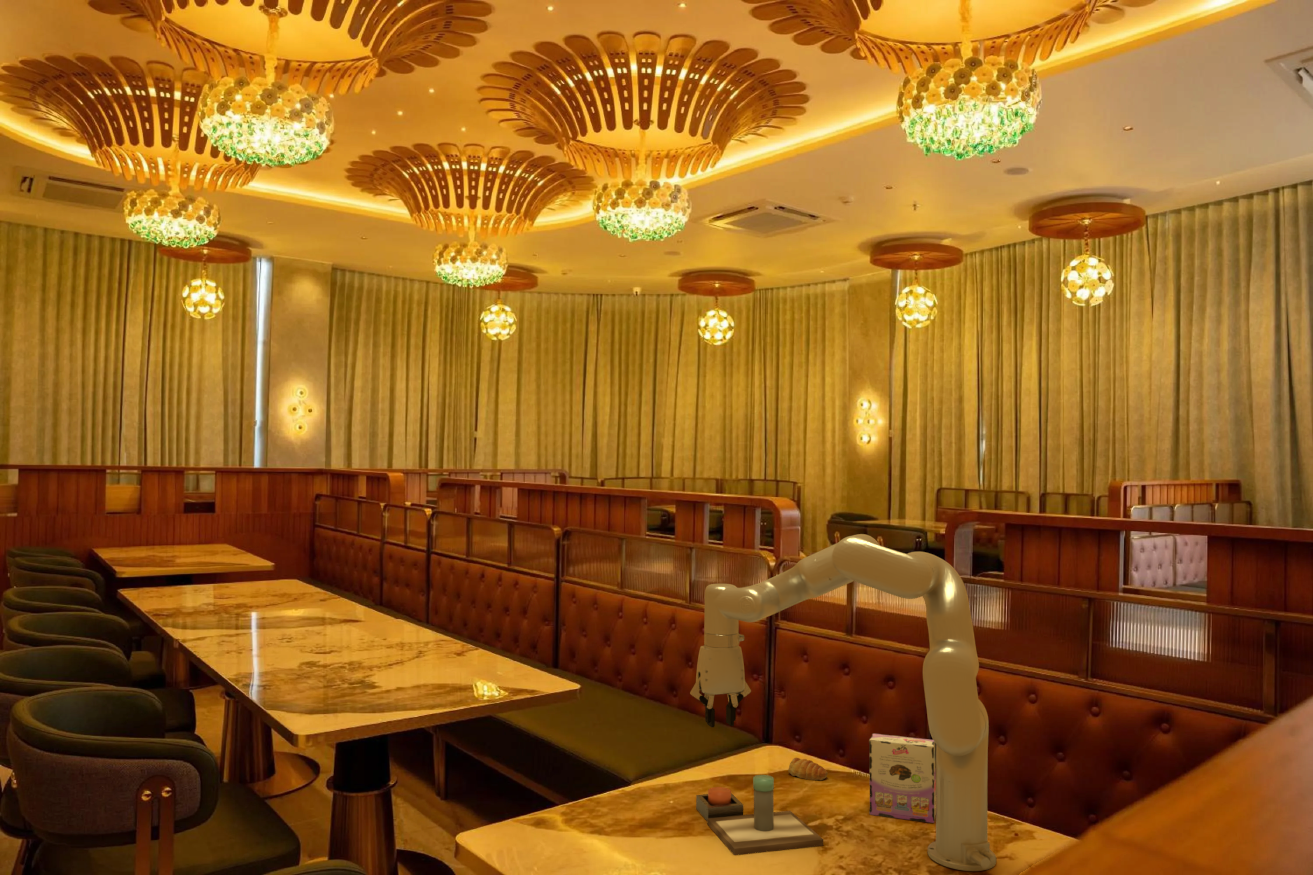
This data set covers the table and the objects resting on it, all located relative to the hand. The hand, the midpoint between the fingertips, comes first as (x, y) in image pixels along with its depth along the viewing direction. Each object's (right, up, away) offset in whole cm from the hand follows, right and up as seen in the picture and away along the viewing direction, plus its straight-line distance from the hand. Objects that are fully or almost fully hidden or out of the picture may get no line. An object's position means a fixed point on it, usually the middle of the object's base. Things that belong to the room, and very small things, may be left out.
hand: (720, 724), depth 197 cm
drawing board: (+8, -19, -12) cm, 24 cm away
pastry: (+23, -21, +26) cm, 41 cm away
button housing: (0, -19, -1) cm, 19 cm away
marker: (+8, -17, -12) cm, 23 cm away
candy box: (+40, -20, 0) cm, 45 cm away
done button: (0, -17, -1) cm, 17 cm away
